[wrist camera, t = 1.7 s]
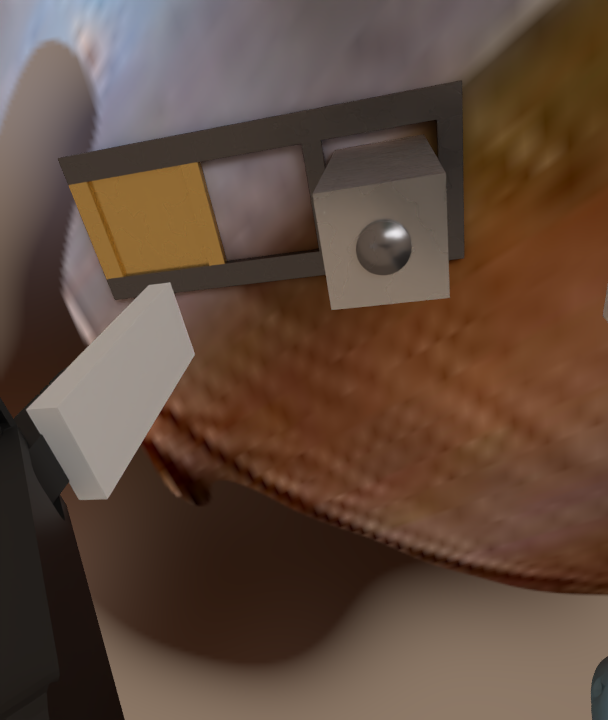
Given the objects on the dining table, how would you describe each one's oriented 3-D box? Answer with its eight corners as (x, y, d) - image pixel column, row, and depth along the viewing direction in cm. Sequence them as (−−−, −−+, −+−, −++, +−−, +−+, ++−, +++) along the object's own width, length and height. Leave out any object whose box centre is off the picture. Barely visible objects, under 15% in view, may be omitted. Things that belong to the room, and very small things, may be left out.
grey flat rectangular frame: (463, 255, 30) (464, 258, 30) (118, 297, 35) (115, 299, 35) (460, 80, 25) (462, 80, 25) (62, 157, 30) (57, 158, 30)
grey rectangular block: (428, 223, 30) (450, 299, 20) (346, 234, 31) (331, 312, 21) (423, 134, 27) (446, 174, 18) (335, 149, 28) (311, 195, 19)
